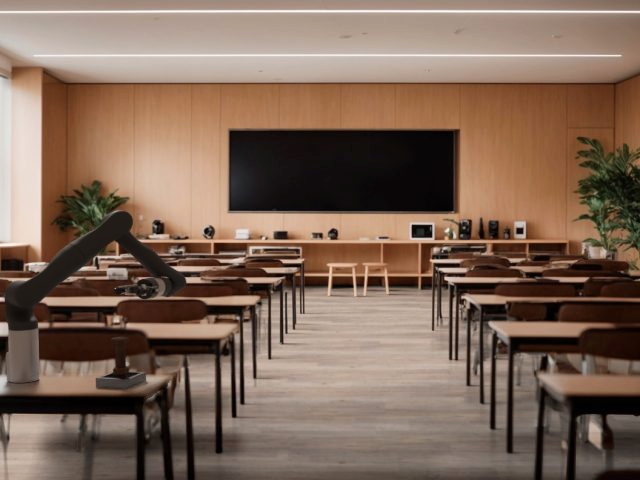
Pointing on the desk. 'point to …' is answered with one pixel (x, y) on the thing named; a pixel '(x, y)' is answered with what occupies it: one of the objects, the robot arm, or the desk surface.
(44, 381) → the desk surface
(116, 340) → the bolt
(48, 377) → the desk surface
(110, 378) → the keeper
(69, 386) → the desk surface
